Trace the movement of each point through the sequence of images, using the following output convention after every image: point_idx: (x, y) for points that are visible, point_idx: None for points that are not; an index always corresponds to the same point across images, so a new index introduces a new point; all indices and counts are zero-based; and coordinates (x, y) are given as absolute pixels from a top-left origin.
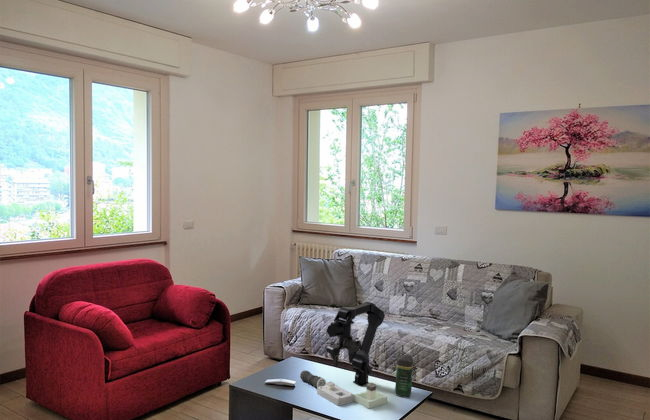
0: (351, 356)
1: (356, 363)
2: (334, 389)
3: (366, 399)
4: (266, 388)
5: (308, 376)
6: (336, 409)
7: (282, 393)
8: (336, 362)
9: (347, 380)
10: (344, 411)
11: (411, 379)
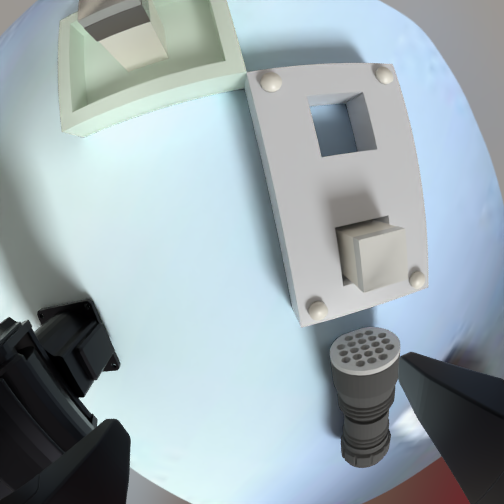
0: (76, 499)
1: (53, 422)
2: (351, 217)
3: (167, 54)
4: (498, 359)
5: (387, 422)
6: (392, 47)
7: (496, 311)
8: (471, 371)
9: (144, 395)
10: (361, 13)
11: None
